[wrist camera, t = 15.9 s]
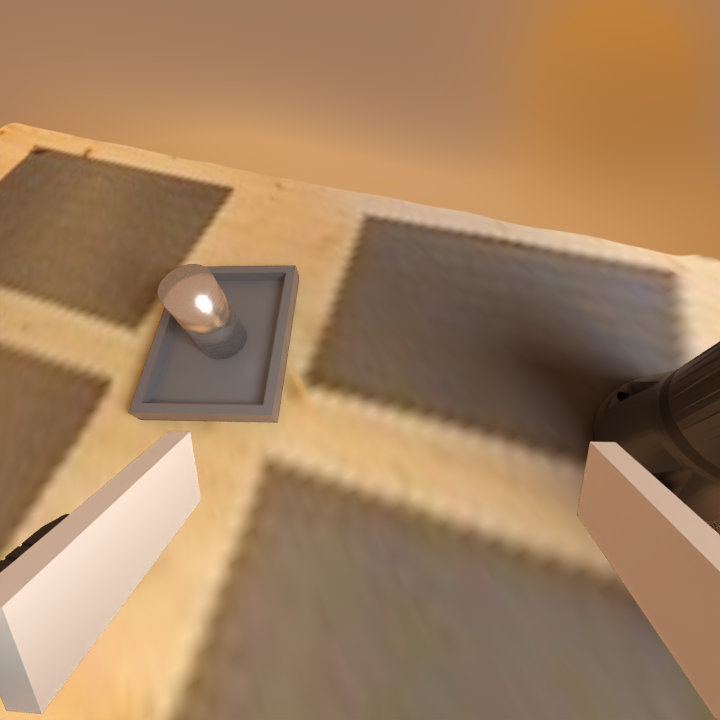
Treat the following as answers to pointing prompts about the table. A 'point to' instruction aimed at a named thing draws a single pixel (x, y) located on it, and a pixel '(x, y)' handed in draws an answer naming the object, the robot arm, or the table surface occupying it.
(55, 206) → the table surface
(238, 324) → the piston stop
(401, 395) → the table surface
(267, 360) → the slate tray
